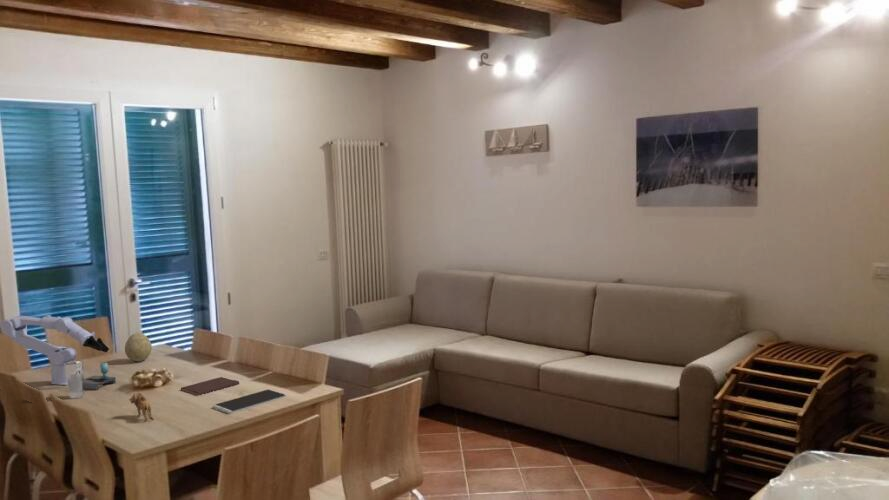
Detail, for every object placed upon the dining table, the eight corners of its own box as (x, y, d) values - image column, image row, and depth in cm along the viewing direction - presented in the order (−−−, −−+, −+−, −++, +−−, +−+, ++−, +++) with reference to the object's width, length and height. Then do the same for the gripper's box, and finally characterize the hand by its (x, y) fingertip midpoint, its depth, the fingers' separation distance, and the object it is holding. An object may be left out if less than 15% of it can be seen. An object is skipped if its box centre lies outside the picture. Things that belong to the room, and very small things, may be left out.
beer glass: (67, 400, 287) (63, 365, 285) (67, 396, 293) (64, 362, 291) (85, 397, 290) (82, 363, 288) (85, 393, 296) (82, 359, 294)
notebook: (180, 391, 296) (180, 386, 296) (221, 380, 311) (220, 375, 311) (199, 396, 286) (198, 392, 286) (239, 385, 301) (239, 381, 301)
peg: (98, 379, 317) (97, 364, 316) (105, 377, 321) (103, 362, 320) (105, 380, 316) (103, 365, 315) (111, 378, 319) (110, 362, 319)
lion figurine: (129, 415, 263) (127, 393, 262) (142, 412, 267) (140, 390, 266) (147, 423, 254) (145, 400, 253) (160, 419, 258) (158, 396, 257)
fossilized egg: (131, 358, 356) (128, 331, 354) (155, 357, 357) (153, 329, 356) (122, 365, 343) (119, 336, 342) (148, 363, 345) (145, 334, 343)
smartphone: (287, 398, 281) (287, 394, 281) (229, 415, 261) (229, 411, 260) (269, 392, 290) (269, 388, 289) (211, 409, 269) (211, 404, 269)
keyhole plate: (74, 388, 304) (73, 382, 304) (94, 381, 315) (93, 375, 314) (96, 390, 300) (96, 384, 300) (115, 383, 310) (115, 377, 310)
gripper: (79, 324, 305) (104, 340, 305) (91, 329, 319) (115, 344, 319) (68, 338, 303) (94, 354, 303) (82, 341, 317) (106, 357, 317)
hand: (104, 349), depth 311 cm, fingers open, 7 cm apart
